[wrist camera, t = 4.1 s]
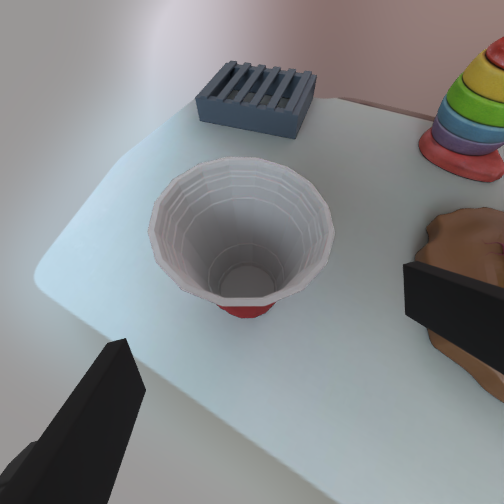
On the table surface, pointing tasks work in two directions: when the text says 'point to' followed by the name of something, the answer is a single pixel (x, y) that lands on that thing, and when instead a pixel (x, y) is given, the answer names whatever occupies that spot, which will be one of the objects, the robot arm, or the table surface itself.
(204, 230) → the plastic cup
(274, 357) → the table surface
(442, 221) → the plant
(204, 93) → the dish rack
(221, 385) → the table surface
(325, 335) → the table surface
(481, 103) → the stacking bear
